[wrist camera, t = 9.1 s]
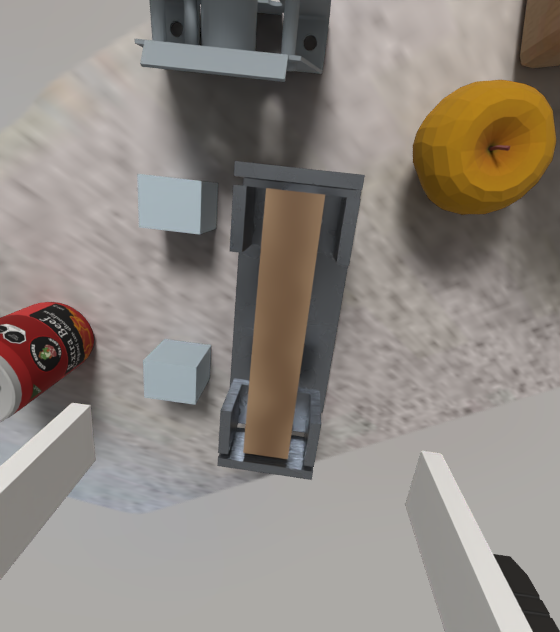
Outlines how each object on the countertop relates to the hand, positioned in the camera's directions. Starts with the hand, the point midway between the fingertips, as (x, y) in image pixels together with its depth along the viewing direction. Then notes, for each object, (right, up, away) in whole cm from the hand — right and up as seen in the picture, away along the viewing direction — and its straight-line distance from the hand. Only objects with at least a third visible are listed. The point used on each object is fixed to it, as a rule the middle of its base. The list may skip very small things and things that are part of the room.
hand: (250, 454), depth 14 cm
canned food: (-22, +4, +24) cm, 33 cm away
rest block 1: (-7, +16, +18) cm, 25 cm away
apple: (+15, +19, +15) cm, 29 cm away
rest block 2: (-9, +1, +23) cm, 25 cm away
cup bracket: (+2, +7, +20) cm, 22 cm away
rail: (+1, +5, +14) cm, 15 cm away
